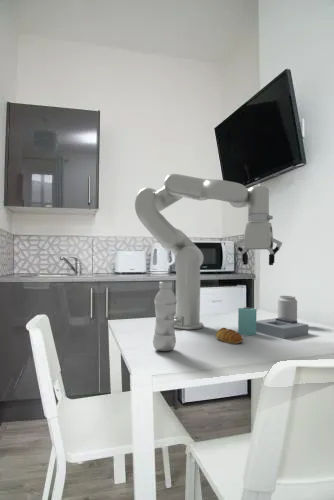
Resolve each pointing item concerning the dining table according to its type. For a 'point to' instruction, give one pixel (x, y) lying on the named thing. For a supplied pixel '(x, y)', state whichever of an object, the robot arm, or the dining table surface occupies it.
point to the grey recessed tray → (281, 327)
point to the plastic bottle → (165, 317)
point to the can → (287, 307)
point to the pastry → (229, 336)
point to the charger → (247, 321)
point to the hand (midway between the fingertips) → (258, 264)
